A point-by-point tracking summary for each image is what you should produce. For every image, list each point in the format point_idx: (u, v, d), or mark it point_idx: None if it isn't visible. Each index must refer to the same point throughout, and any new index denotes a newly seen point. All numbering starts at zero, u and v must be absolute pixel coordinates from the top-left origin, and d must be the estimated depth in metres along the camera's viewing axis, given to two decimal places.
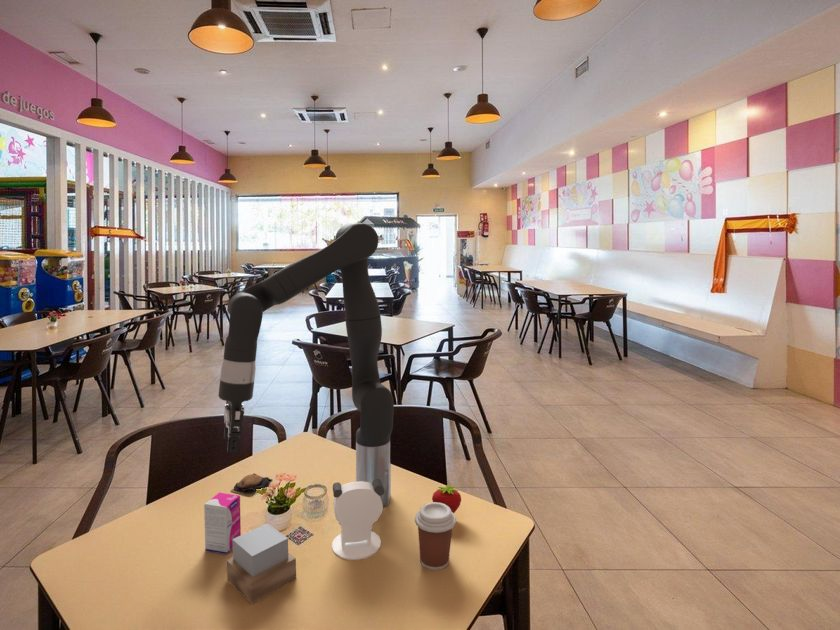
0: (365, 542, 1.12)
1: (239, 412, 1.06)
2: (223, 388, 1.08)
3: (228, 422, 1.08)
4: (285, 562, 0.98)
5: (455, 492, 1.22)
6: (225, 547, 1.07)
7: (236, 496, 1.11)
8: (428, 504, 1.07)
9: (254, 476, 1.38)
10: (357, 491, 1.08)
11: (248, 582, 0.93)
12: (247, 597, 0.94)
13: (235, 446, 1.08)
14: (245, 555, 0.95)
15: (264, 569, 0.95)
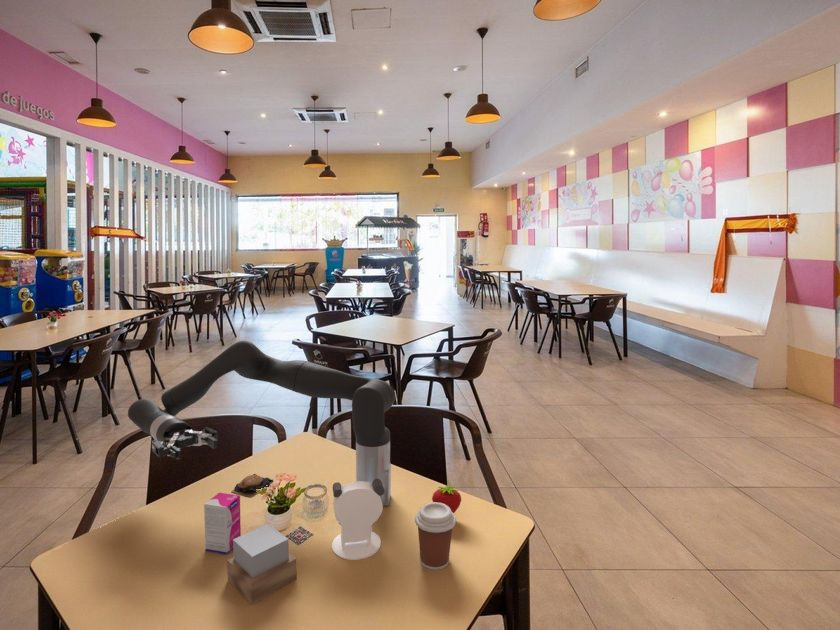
0: (365, 542, 1.12)
1: None
2: None
3: None
4: (285, 562, 0.98)
5: (455, 492, 1.22)
6: (225, 547, 1.07)
7: (236, 496, 1.11)
8: (428, 504, 1.07)
9: (255, 477, 1.38)
10: (357, 491, 1.08)
11: (248, 582, 0.93)
12: (247, 597, 0.94)
13: (171, 452, 1.13)
14: (245, 555, 0.95)
15: (264, 570, 0.95)
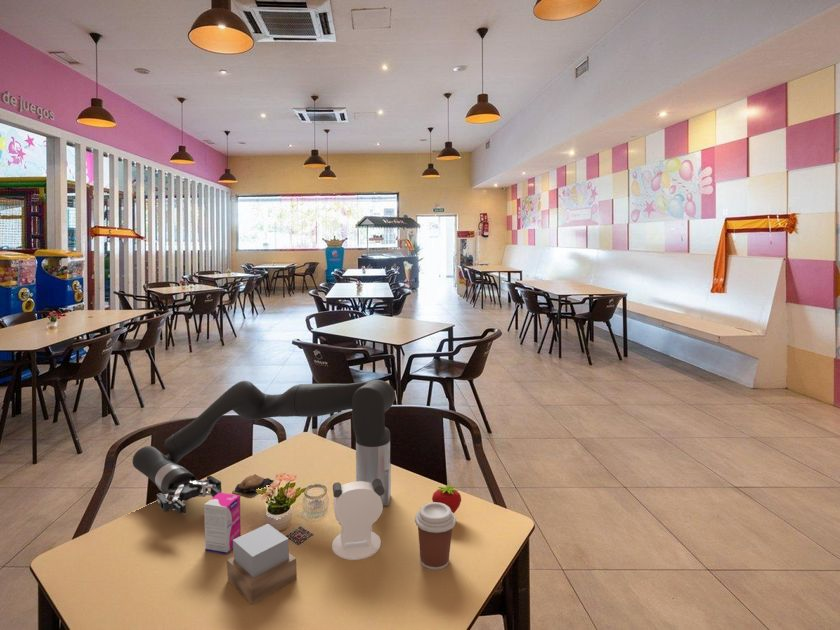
0: (365, 542, 1.12)
1: None
2: None
3: None
4: (285, 562, 0.98)
5: (455, 492, 1.22)
6: (225, 547, 1.07)
7: (236, 496, 1.11)
8: (428, 504, 1.07)
9: (255, 477, 1.38)
10: (357, 491, 1.08)
11: (248, 582, 0.93)
12: (247, 597, 0.94)
13: (176, 507, 1.14)
14: (245, 555, 0.95)
15: (265, 570, 0.95)
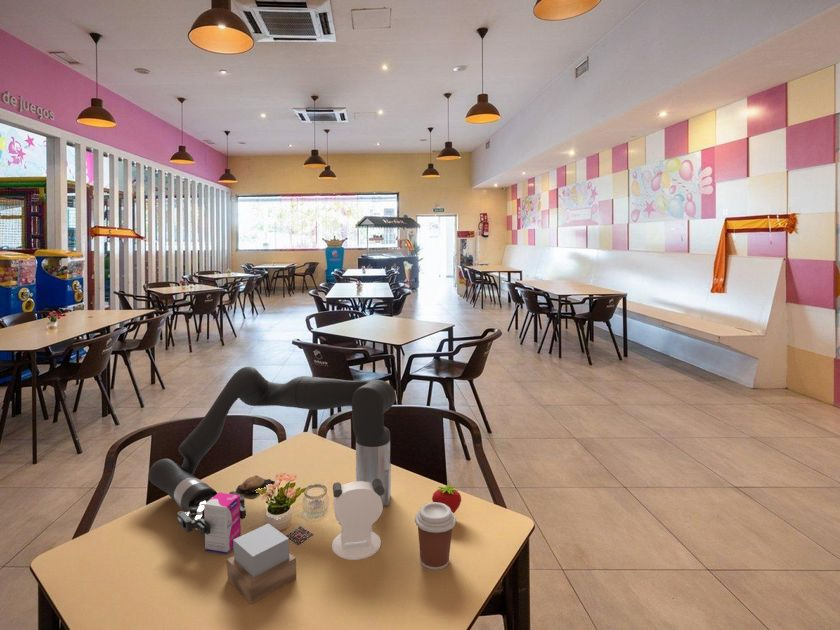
0: (365, 542, 1.12)
1: None
2: None
3: None
4: (285, 561, 0.98)
5: (455, 492, 1.22)
6: (224, 547, 1.07)
7: (236, 496, 1.11)
8: (428, 504, 1.07)
9: (256, 478, 1.37)
10: (357, 491, 1.08)
11: (248, 581, 0.93)
12: (247, 596, 0.94)
13: (200, 526, 1.06)
14: (245, 555, 0.95)
15: (265, 570, 0.95)
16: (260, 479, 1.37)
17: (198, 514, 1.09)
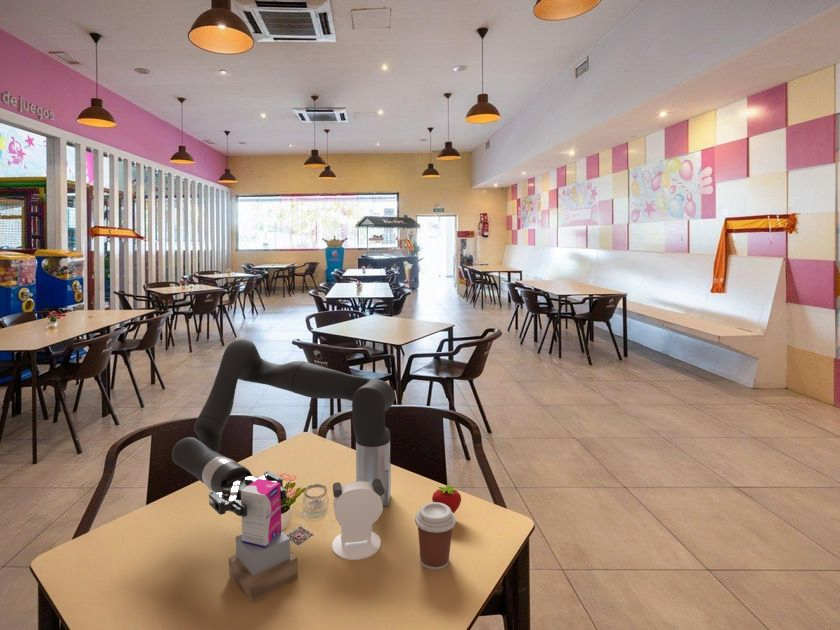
0: (365, 542, 1.12)
1: (209, 497, 0.98)
2: None
3: None
4: (286, 561, 0.98)
5: (455, 492, 1.22)
6: (263, 541, 0.95)
7: (276, 483, 0.98)
8: (428, 504, 1.07)
9: None
10: (357, 491, 1.08)
11: (249, 580, 0.93)
12: (248, 595, 0.94)
13: (235, 508, 0.93)
14: (246, 553, 0.95)
15: (265, 569, 0.96)
16: None
17: (232, 495, 0.97)
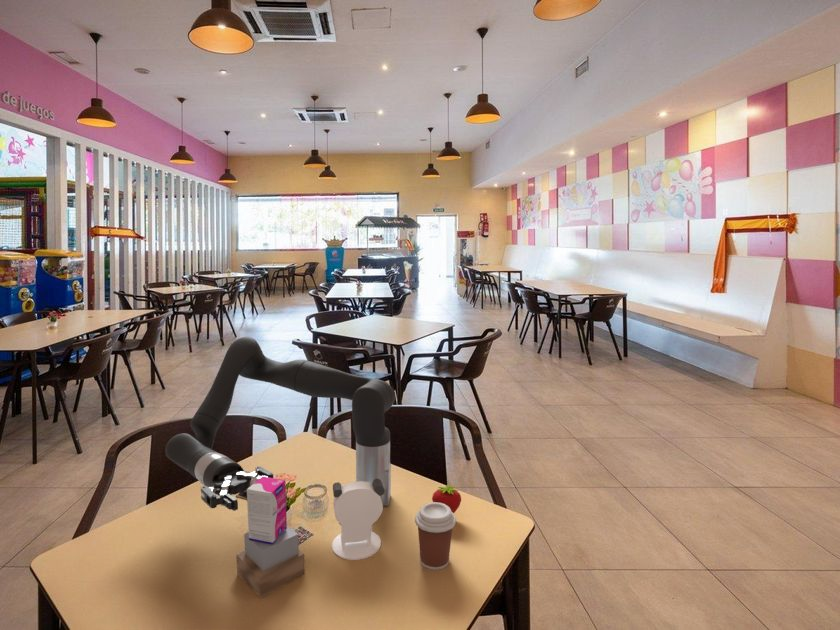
0: (365, 542, 1.12)
1: None
2: None
3: None
4: (293, 557, 1.00)
5: (455, 492, 1.22)
6: (270, 537, 0.96)
7: (281, 481, 0.99)
8: (428, 504, 1.07)
9: None
10: (357, 491, 1.08)
11: (257, 576, 0.94)
12: (256, 591, 0.95)
13: (226, 502, 0.96)
14: (256, 549, 0.97)
15: (274, 564, 0.97)
16: None
17: (223, 489, 0.99)
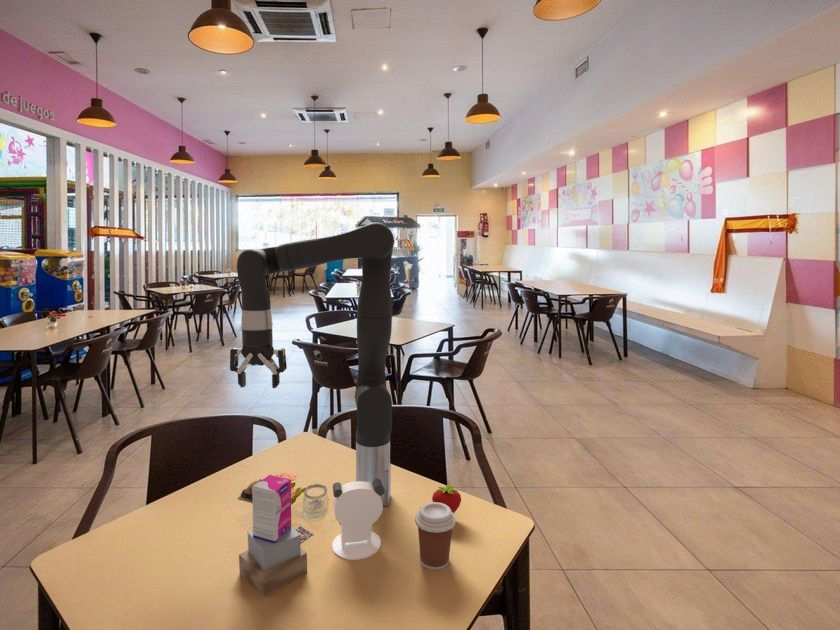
0: (365, 542, 1.12)
1: None
2: None
3: None
4: (296, 556, 1.00)
5: (455, 492, 1.22)
6: (273, 536, 0.97)
7: (287, 480, 1.00)
8: (428, 504, 1.07)
9: None
10: (357, 491, 1.08)
11: (261, 576, 0.95)
12: (260, 590, 0.96)
13: None
14: (258, 548, 0.97)
15: (276, 564, 0.97)
16: None
17: (241, 366, 1.24)
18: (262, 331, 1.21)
